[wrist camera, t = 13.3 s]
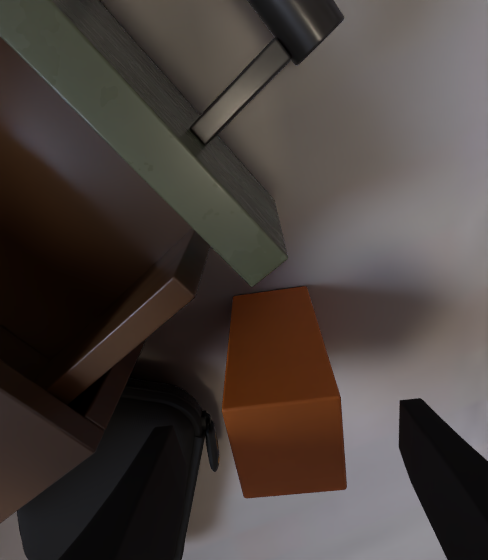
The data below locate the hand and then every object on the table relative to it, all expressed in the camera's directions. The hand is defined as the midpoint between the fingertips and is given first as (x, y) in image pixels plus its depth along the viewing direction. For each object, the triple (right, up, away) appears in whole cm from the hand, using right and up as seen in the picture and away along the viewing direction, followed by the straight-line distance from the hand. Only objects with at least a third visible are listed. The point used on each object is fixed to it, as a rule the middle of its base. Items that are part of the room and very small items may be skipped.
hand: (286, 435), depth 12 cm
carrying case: (-10, -13, +11) cm, 20 cm away
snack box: (0, +3, +6) cm, 6 cm away
